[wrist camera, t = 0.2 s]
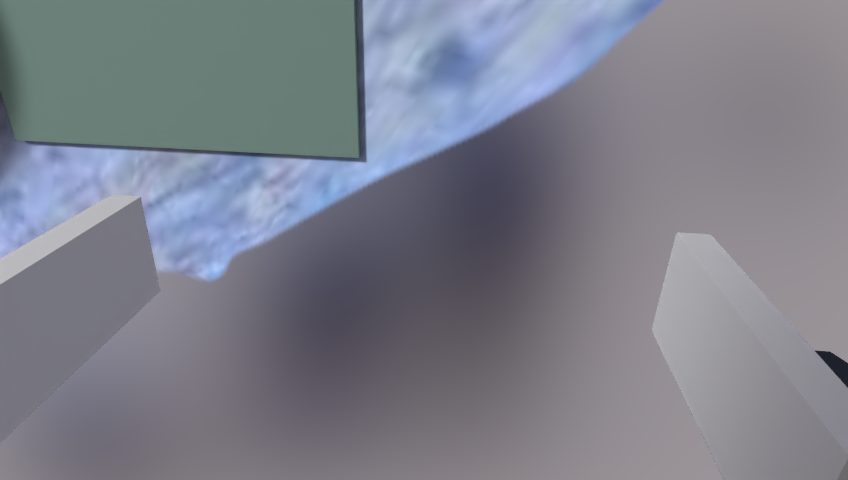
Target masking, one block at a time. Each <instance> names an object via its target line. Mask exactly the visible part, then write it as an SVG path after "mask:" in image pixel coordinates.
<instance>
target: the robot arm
mask: <svg viewBox="0 0 848 480" xmlns="http://www.w3.org/2000/svg"><path fill="white" fill-rule="evenodd" d="M159 291H160V287H159V282H158V277H157V272H156V268H155V263H154V258H153V254H152V249H151V244H150V239H149V235H148V230H147V225H146V221H145V216H144V211H143V206H142V202H141V197H135V196H120V195H111V196H109V197H107V198H105V199H104V200H102V201H100V202H98V203H97V204H95V205H93V206H91V207H90V208H88V209H86V210H84V211H83V212H81V213H79V214H77V215H76V216H74V217H72V218H70V219H69V220H67V221H65V222H63V223H62V224H60V225H58V226H56V227H55V228H53V229H51V230H49V231H48V232H46V233H44V234H42V235H41V236H39V237H37V238H35V239H34V240H32V241H30V242H28V243H27V244H25V245H23V246H21V247H20V248H18V249H16V250H14V251H13V252H11V253H9V254H7V255H6V256H4V257H2V258H0V443H1V442H2V441H3V440H4V439H5V438H6V437H7V436H9V435H10V434H11V433H12V432H13V431H14V430H15V429H16V428H17V427H18V426H19V425H20V424H21V423H22V422H23V421H24V420H25V419H26V418H27V417H28V416H30V415H31V414H32V413H33V412H34V411H35V410H36V409H37V408H38V407H39V406H40V405H41V404H42V403H43V402H44V401H45V400H46V399H47V398H48V397H49V396H51V394H53V393H54V392H55V391H56V390H57V389H58V388H59V387H60V386H61V385H62V384H63V383H64V382H65V381H66V380H67V379H68V378H69V377H70V376H72V375H73V374H74V373H75V372H76V371H77V370H78V369H79V368H80V367H81V366H82V365H83V364H84V363H85V362H86V361H87V360H88V359H89V358H90V357H91V356H92V355H94V354H95V353H96V352H97V351H98V350H99V349H100V348H101V347H102V346H103V345H104V344H105V343H106V342H107V341H108V340H109V339H110V338H111V337H112V336H113V335H114V334H116V333H117V332H118V331H119V330H120V329H121V328H122V327H123V326H124V325H125V324H126V323H127V322H128V321H129V320H130V319H131V318H132V317H133V316H134V315H136V314H137V312H139V311H140V310H141V309H142V308H143V307H144V306H145V305H146V304H147V303H148V302H149V301H150V300H151V299H152V298H153V297H154V296H155V295H156V294H158V293H159ZM652 332H653V334H654V336H655V338H656V340H657V342H658V344H659V347H660V348H661V351H662V353H663V355H664V357H665V359H666V361H667V363H668V365H669V367H670V369H671V372H672V374H673V375H674V377H675V380H676V382H677V384H678V386H679V388H680V390H681V392H682V394H683V396H684V398H685V401H686V403H687V405H688V407H689V409H690V411H691V413H692V415H693V417H694V419H695V422H696V423H697V426H698V428H699V430H700V432H701V434H702V436H703V438H704V440H705V442H706V444H707V447H708V448H709V451H710V453H711V455H712V457H713V459H714V461H715V463H716V465H717V467H718V469H719V472H720V474H721V476H722V478H723V480H848V363H847V362H845V361H844V360H842V359H840V358H839V357H837V356H836V355H834V354H833V353H831V352H825V351H814V350H813V349H812V347H811V346H810V345H809V344H808V343H807V342H806V341H805V340H804V339H803V337H802V336H801V335H800V334H799V333H798V332H797V331H796V330H795V328H793V326H792V325H791V324H790V323H789V322H788V321H787V320H786V318H785V317H784V316H783V315H782V314H781V313H780V312H779V311H778V309H777V308H776V307H775V306H774V305H773V304H772V303H771V302H770V301H769V299H768V298H767V297H766V296H765V295H764V294H763V293H762V292H761V290H760V289H759V288H758V287H757V286H756V285H755V284H754V283H753V281H751V279H750V278H749V277H748V276H747V275H746V274H745V273H744V271H743V270H742V269H741V268H740V267H739V266H738V265H737V264H736V263H735V261H734V260H733V259H732V258H731V257H730V256H729V255H728V254H727V252H725V250H724V249H723V248H722V247H721V246H720V245H719V244H718V242H717V241H716V240H715V239H714V238H713V237H712V236H711V235H708V234H693V233H676V237H675V241H674V245H673V249H672V253H671V257H670V261H669V264H668V268H667V272H666V276H665V280H664V284H663V288H662V292H661V296H660V300H659V304H658V307H657V312H656V315H655V320H654V324H653V327H652Z"/></svg>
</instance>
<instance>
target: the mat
mask: <svg viewBox="0 0 848 480" xmlns="http://www.w3.org/2000/svg"><path fill="white" fill-rule="evenodd" d="M0 92H1V95H2V98H3V102H4V105H5V108H6V111H7V115H8V118H9V121H10V124H11V127H12V131H13V134H14V137H15V140H19V141H38V142H57V143H77V144H96V145H116V146H135V147H154V148H174V149H193V150H212V151H232V152H251V153H271V154H290V155H309V156H329V157H348V158H359V157H360V126H359V92H358V59H357V25H356V0H0Z"/></svg>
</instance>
